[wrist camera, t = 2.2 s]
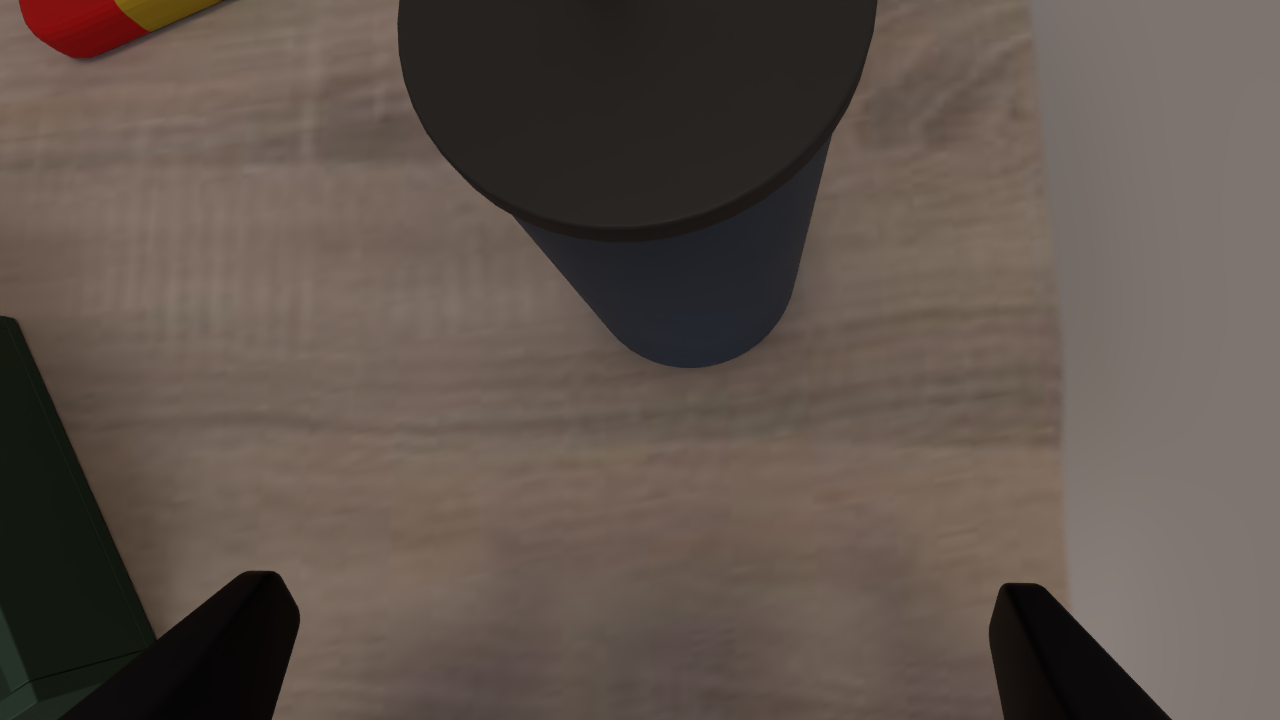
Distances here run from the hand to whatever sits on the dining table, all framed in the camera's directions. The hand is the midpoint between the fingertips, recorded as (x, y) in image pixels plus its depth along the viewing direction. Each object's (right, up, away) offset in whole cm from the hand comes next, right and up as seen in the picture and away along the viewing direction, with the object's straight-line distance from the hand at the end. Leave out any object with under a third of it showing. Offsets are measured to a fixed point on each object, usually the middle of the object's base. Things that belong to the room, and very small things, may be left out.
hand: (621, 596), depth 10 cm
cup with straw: (+2, +6, +14) cm, 16 cm away
